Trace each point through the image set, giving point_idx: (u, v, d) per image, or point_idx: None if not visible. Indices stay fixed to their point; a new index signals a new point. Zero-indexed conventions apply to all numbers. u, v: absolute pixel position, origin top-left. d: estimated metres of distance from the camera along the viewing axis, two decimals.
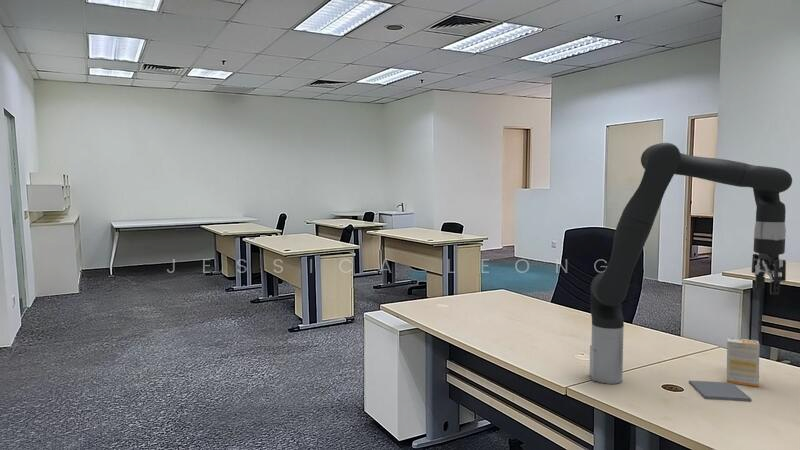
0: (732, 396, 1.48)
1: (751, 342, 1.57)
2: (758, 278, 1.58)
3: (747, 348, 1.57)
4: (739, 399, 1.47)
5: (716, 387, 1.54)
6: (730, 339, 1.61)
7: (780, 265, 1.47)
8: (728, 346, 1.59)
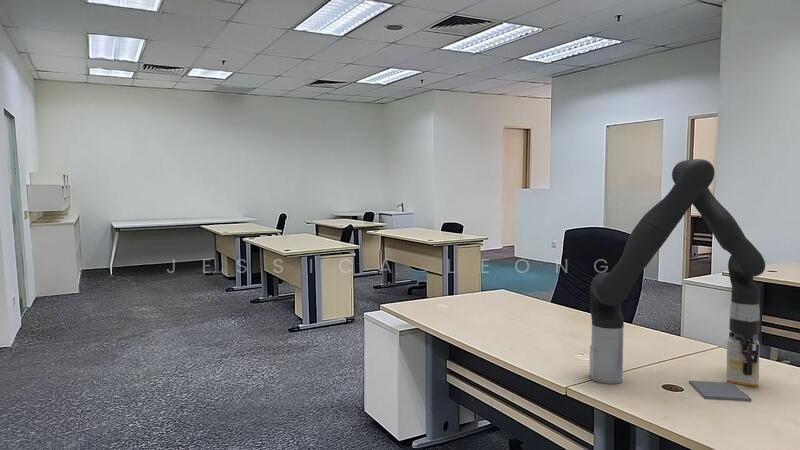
0: (732, 396, 1.48)
1: None
2: None
3: None
4: (739, 399, 1.47)
5: (716, 387, 1.54)
6: (730, 339, 1.61)
7: (753, 349, 1.53)
8: (728, 346, 1.59)
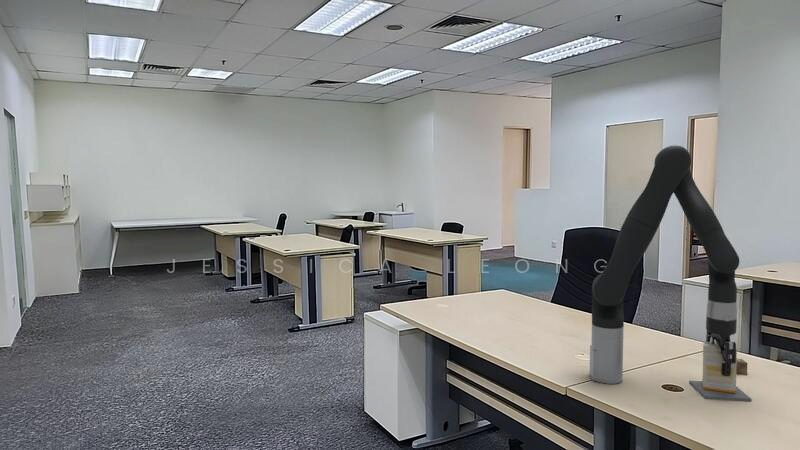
0: (732, 396, 1.48)
1: None
2: None
3: None
4: (739, 399, 1.47)
5: None
6: (706, 344, 1.54)
7: (730, 348, 1.45)
8: (704, 351, 1.52)
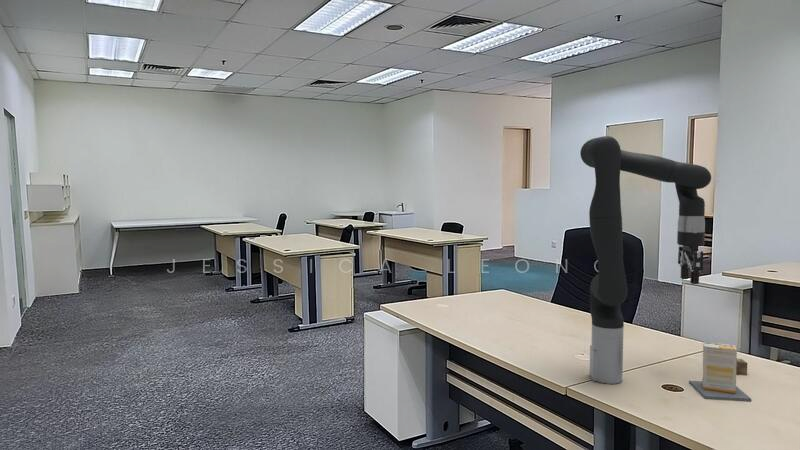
0: (732, 396, 1.48)
1: (728, 347, 1.50)
2: (683, 269, 1.69)
3: (724, 353, 1.50)
4: (739, 399, 1.47)
5: None
6: (706, 344, 1.54)
7: (698, 256, 1.58)
8: (704, 351, 1.52)
